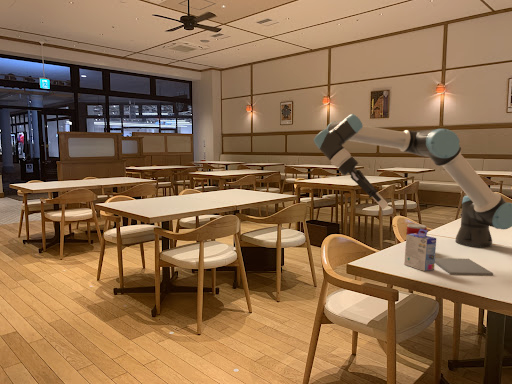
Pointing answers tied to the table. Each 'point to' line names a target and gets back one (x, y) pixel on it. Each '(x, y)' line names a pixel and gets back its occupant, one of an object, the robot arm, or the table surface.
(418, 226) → the canned food
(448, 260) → the rubber mat
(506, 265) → the table surface
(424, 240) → the ink cartridge box
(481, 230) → the robot arm
